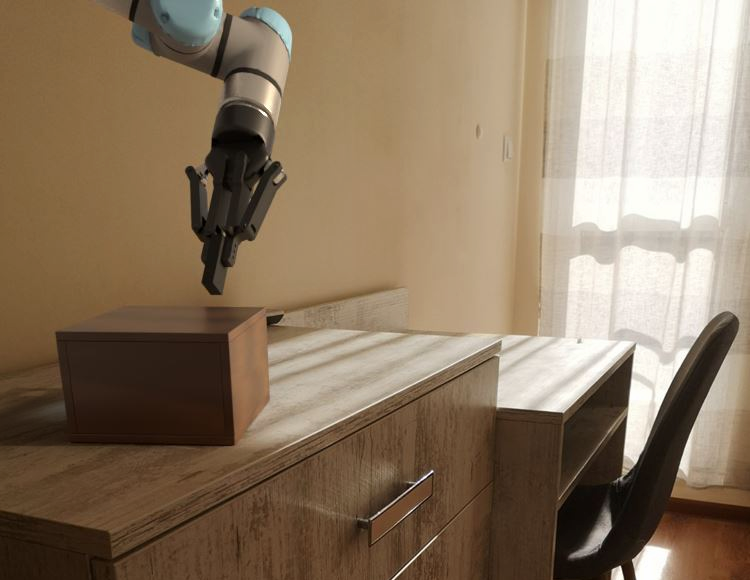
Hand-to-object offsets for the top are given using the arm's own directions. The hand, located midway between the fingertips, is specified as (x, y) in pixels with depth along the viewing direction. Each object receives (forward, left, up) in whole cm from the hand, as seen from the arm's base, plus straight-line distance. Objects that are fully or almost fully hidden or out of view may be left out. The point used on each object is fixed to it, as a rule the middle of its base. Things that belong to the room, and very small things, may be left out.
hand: (211, 288), depth 96 cm
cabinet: (+22, -6, -10) cm, 24 cm away
